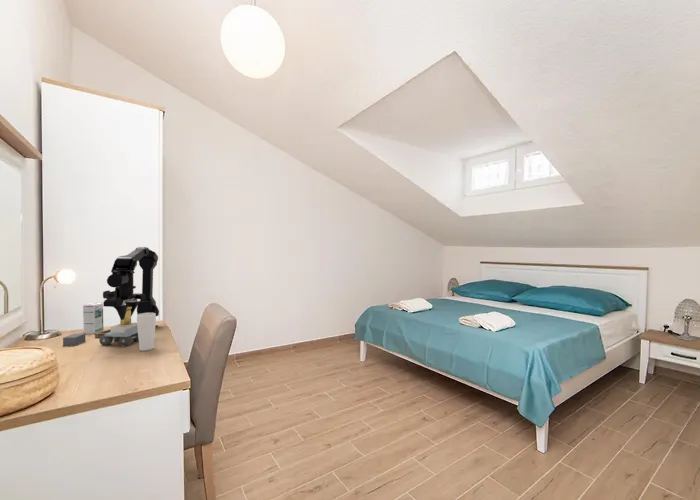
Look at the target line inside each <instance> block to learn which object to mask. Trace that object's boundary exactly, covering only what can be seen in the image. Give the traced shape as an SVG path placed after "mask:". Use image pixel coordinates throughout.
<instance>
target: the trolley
mask: <svg viewBox="0 0 700 500" xmlns="http://www.w3.org/2000/svg"><path fill="white" fill-rule="evenodd" d="M98 339H99V343H100V345H102V346H105V347H106V346H108V345H110V344H112V343H113V341H115V342H118V343H119V345H120V346H122V347H127V346H129V345H131V344H132V343H133V342H139V340H138V330H137V326H135V327H132V328H129V329H126V330H125V333H111V332H109V333H106V334H105V335H104V336H101V337H100V338H98Z"/></svg>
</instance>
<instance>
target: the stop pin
mask: <svg viewBox="0 0 700 500" xmlns="http://www.w3.org/2000/svg"><path fill="white" fill-rule="evenodd" d="M131 309H132V306H127V309H126V313H125V317H124V320H121V319H120V318H119V319H120V320H119V321H120V323H119V324H120V325H129V324H131V323H132V316H131Z"/></svg>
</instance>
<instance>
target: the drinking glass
mask: <svg viewBox="0 0 700 500" xmlns="http://www.w3.org/2000/svg"><path fill="white" fill-rule="evenodd" d="M156 318H157V316H156V314H155V313H142V314H138V315H137V316H136V323H137V330H138V340H139V341H138V350H139V351H141V352H147V351H152V350H153V349H154V347H155V333H156V327H155V326H156V325H157V324H156V323H157V322H156V321H157V319H156Z"/></svg>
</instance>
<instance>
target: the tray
mask: <svg viewBox="0 0 700 500" xmlns="http://www.w3.org/2000/svg"><path fill="white" fill-rule="evenodd" d="M135 326H137V322H131V324H129V325H120V323H118V324H115V325H111V326H110V331H111V333H125V330H126V329H129V328H132V327H135Z"/></svg>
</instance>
